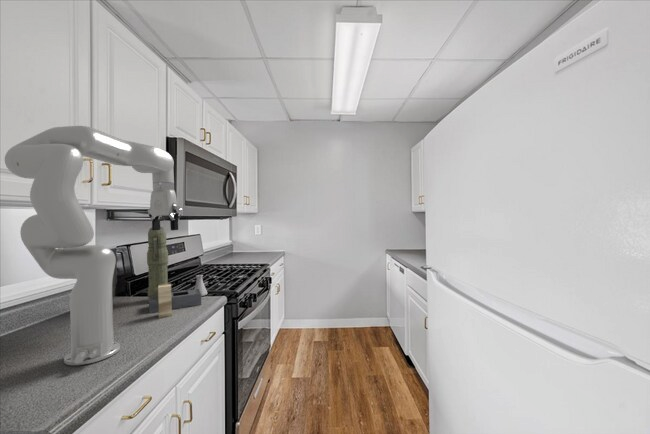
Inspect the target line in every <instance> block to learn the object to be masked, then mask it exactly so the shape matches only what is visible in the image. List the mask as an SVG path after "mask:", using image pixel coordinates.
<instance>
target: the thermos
mask: <svg viewBox="0 0 650 434" xmlns="http://www.w3.org/2000/svg"><path fill="white" fill-rule="evenodd" d="M147 232H148V233H147V244H148V248H147V249H148V250H147V252H146V264H147V267H148V268H147V270H148V288H147V297H148V298H147V299H148V300H147V301H148V303H149V298H150V295H156V294H158V285H164V284H169V282H168V279H169V278H168V277H169V276H168V274H169V273H168V263H169V251H168V248H167V232H166V229H165V227H163V226H160V230H152V226H151V228H149V230H148V231H147Z"/></svg>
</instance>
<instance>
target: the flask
mask: <svg viewBox="0 0 650 434" xmlns="http://www.w3.org/2000/svg"><path fill="white" fill-rule="evenodd" d="M203 276H204V275H203V274H198V275H195V278H196V282H195V285H194V289H199V290H200V292H201V297H204V296H207V295H208V290H207V288H206V286H205V284H204V281H203V280H204V279H203ZM194 289H193V290H194Z"/></svg>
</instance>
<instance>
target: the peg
mask: <svg viewBox="0 0 650 434" xmlns="http://www.w3.org/2000/svg"><path fill="white" fill-rule="evenodd" d="M171 292H172V283H168V284H164V285H158V300H159V311H158V319H159V318H168V317H172V316H173V309H172V300H171Z"/></svg>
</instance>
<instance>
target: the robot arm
mask: <svg viewBox="0 0 650 434" xmlns="http://www.w3.org/2000/svg"><path fill="white" fill-rule="evenodd" d="M4 155H5V156H4V164H5V166H6V168H7V169H8V171H10V173H12V174H14V175H15V176H17V177H19V178H22V179H28V180H29V179H33V181H32V184H31V187H30V190H29V191H30V192H29V198H30V202H31V205H32V208H33V209H34V210H35V212H36V214H34V215H31V216H29V217H28V218H26V219H25V220H24V221H23V222H22V224H21V227H20V232H19V233H20V238H21V242H22V244H23V245H24V247H25V248H26V249H27V251H28V252H29V254H30V255H31V257H32V258H33V259H34V261H36V263H37V264H38V266H39V267H40V269H41V270H42V271H43V272H44V273H45V274H46V275H47V276H49V277H51V278H53V279H58V280H59V279H62V280H76V282H75V284H74V286H72V289H71V291H70V295H69V311H70V313H69V314H70V315H69V316H70V348H71V349H70V352H69V353H67V354H66V355H65V356H64V358H63V363H64V365H68V366H83V365H88V364H93V363H97V362H100V361H103V360H105V359H108V358H110V357H112V356H114V355H115V354H117V353H118V352H119V351H120V349H121V343H119V342H118V341H117V342H116V341H114V312H113V311H114V309H113V307H114V306H113V305H114V304H113V279H114V273H115V269H116V263H117V262H116V259H117V257H116V255H115V253H114V251H113V250H111V249H110V248H108V247H107V246H104V245H95V244H93V245H92V244H91V245H88V244H89V243H91V242H92V240H93V238H94V237H95V236H94V235H95V233H94V228H93V226H92V223H91V222H90V220H89V218H88V216H87V214H86V213H85V211H84V210H83V207H82V206H81V203H79V200H78V198H77V196H76V193H75V185H76V182H77V179H78V177H79V175H80V173H81V171H82V169H83V165H84V158H89V159H93V160H97V161H100V162H104V163H107V164H111V165H114V166H120V167H121V166H122V167H132V169H133V170H135V172H137V173H141V174H151V175H152V177H151V178H152V191H151V194H150V201H149V204H150V205H149V208H148V209H147V213H148V217H149V218H150V220H151V223H152V224H151V227H152V230H160V227H161V220H160V218H161V217H162V216H164V217H165V216H168V217H169V218H170V219H169V220H170V222H169V223H170V231H178V230H179V220H180V217H181V216H182V212H183V208H181V206H178V199H177V195H176V191H175V177H174V175H175V173H174V167H175V165H174V164H175V162H174V158H173V156H172V155H171V154H170V153H169V152H168V151H166V150H163V149H161V148H159V147H156V146H152V145H148V144H143V143H139V142H138V143H137V142H134V141H129V140H125V139H122V138H119V137H116V136H114V135H111V134H109V133H106V132H104V131H102V130H99V129H96V128H93V127H90V126H87V125H69V126H56V127H51V128H49V129H46V130H44V131H41V132H39V133H37V134H35V135H33V136H31V137H30V138H27V139H25V140H23V141H21V142H19V143H17V144H15V145H13V146H12V147H10V148H9V149H8V150H7V152H6V153H5V154H4ZM83 157H84V158H83Z"/></svg>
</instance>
